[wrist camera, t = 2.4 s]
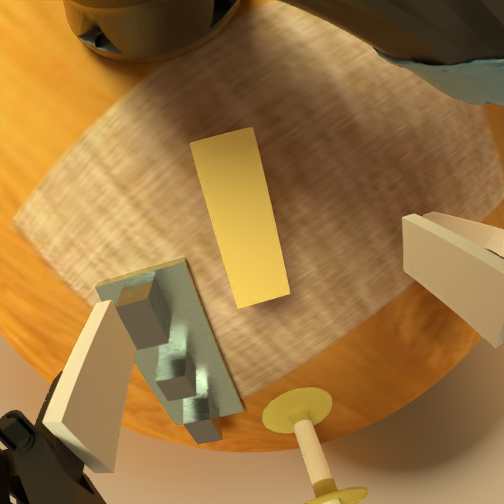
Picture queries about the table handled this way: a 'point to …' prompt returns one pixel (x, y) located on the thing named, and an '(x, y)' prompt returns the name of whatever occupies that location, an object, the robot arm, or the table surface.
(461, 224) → the foam cup
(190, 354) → the rail
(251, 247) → the yellow arch-shaped block
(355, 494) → the candle
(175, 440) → the table surface
